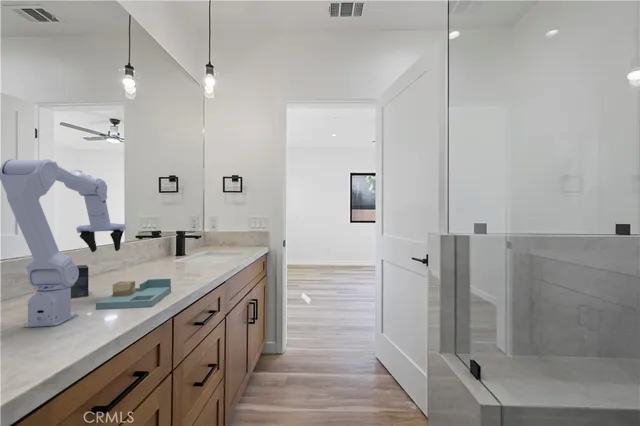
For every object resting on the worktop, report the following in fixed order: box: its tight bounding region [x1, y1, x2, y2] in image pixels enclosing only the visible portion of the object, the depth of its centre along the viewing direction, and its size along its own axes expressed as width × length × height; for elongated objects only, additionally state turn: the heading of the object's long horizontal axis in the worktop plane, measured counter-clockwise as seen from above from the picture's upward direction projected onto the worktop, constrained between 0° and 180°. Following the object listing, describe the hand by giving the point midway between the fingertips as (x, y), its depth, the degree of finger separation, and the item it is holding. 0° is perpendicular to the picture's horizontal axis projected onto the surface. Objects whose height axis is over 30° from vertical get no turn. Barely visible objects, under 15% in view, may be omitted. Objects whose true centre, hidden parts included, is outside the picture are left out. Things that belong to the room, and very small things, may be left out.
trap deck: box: [95, 278, 172, 311], centre depth 110 cm, size 20×16×5 cm
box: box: [71, 264, 89, 299], centre depth 118 cm, size 8×6×11 cm
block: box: [112, 280, 136, 297], centre depth 110 cm, size 5×5×4 cm
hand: (106, 250), depth 114 cm, fingers open, 7 cm apart
